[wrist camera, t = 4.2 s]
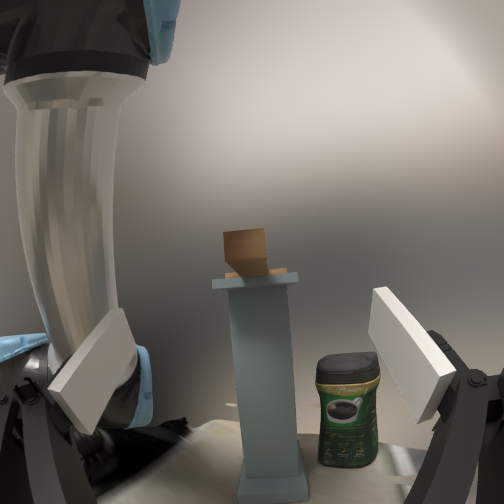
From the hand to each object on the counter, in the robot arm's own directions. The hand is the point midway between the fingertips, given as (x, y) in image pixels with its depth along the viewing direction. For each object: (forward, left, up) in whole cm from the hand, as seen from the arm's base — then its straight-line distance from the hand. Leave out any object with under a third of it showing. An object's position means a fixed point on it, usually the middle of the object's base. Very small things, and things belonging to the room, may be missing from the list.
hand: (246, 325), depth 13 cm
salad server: (0, +18, +4) cm, 18 cm away
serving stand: (0, +23, -26) cm, 34 cm away
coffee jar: (+12, +25, -26) cm, 38 cm away
